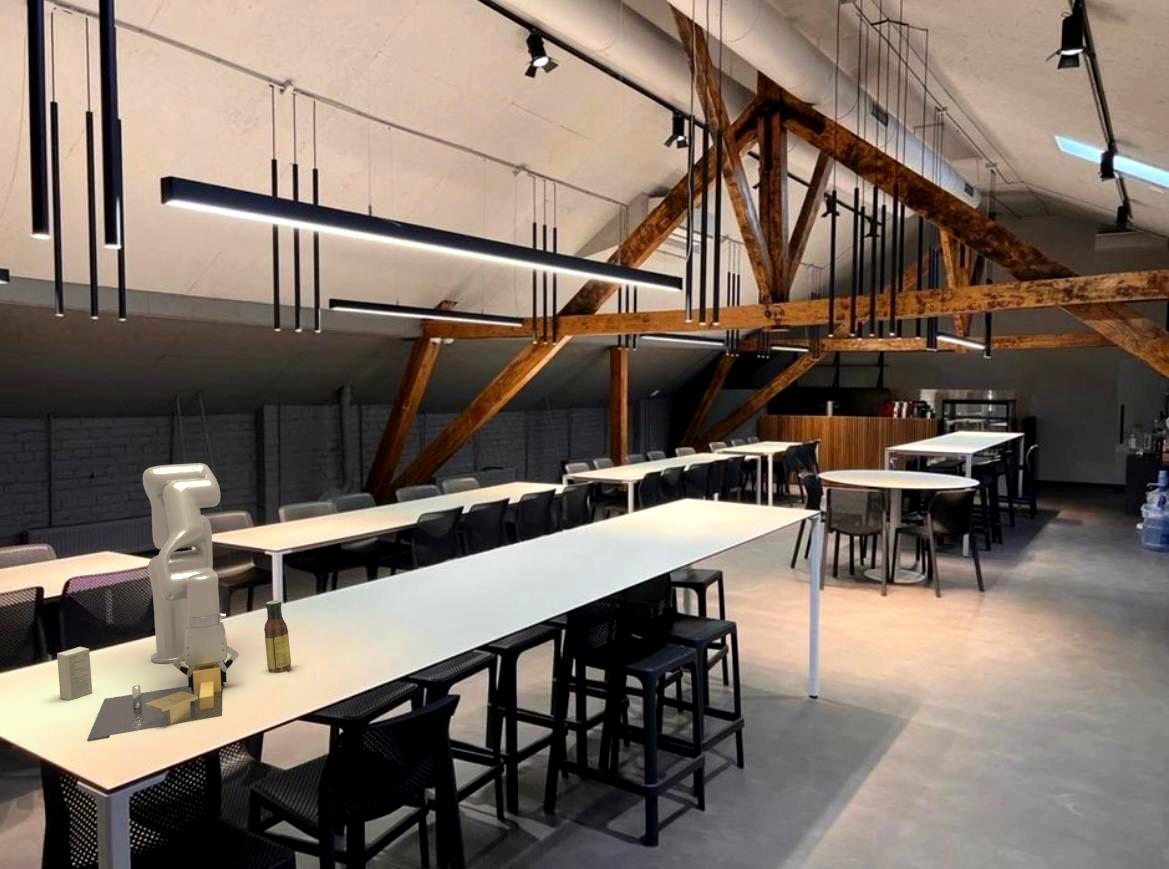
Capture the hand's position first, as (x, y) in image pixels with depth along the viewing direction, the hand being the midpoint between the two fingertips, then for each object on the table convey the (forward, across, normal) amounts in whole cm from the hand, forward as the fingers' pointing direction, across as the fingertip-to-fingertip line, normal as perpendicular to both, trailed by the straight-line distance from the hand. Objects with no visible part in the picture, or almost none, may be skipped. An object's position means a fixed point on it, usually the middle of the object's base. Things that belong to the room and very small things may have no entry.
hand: (207, 686), depth 214 cm
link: (+1, 0, +6) cm, 6 cm away
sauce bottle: (+1, -18, -8) cm, 20 cm away
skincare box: (+1, +32, -14) cm, 35 cm away
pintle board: (+1, +11, +9) cm, 14 cm away
